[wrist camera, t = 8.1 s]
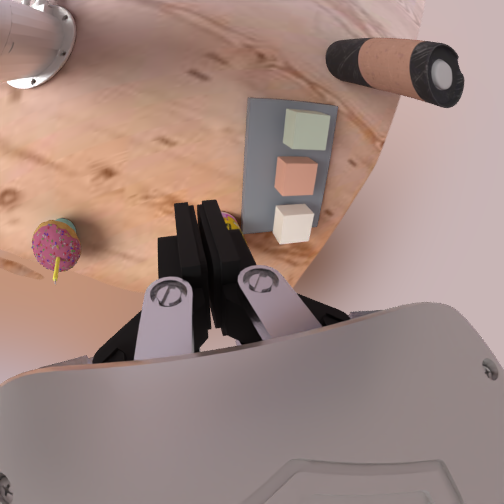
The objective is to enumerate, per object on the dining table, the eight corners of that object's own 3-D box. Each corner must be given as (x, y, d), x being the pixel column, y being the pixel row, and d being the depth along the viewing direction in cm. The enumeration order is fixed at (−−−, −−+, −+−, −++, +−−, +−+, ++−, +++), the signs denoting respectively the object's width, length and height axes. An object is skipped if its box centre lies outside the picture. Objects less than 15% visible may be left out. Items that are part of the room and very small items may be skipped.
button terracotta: (277, 156, 39) (286, 163, 36) (307, 156, 40) (317, 163, 38) (274, 187, 42) (282, 196, 39) (303, 186, 43) (312, 194, 41)
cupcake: (89, 214, 37) (71, 262, 28) (83, 257, 41) (70, 308, 32) (42, 203, 33) (13, 247, 24) (40, 247, 37) (18, 296, 28)
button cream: (275, 205, 42) (283, 215, 40) (304, 203, 44) (314, 213, 41) (272, 232, 45) (279, 244, 43) (300, 230, 47) (308, 241, 44)
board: (247, 97, 34) (254, 99, 32) (334, 105, 38) (345, 109, 35) (240, 230, 47) (245, 241, 45) (314, 223, 51) (322, 233, 48)
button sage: (286, 108, 33) (296, 112, 31) (318, 111, 35) (330, 115, 32) (282, 142, 36) (292, 149, 34) (314, 143, 38) (325, 150, 35)
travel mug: (319, 75, 34) (419, 94, 19) (328, 32, 30) (431, 29, 15) (358, 88, 37) (457, 118, 21) (367, 48, 32) (469, 62, 17)
